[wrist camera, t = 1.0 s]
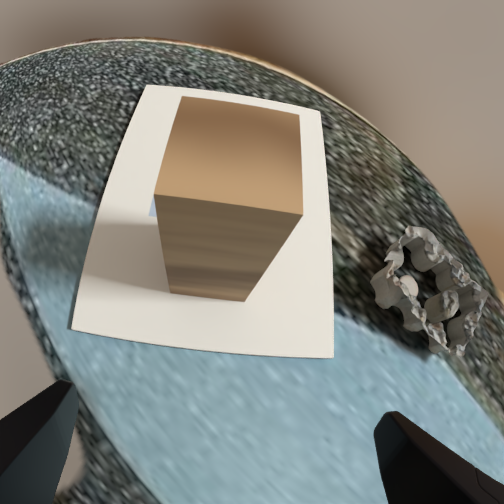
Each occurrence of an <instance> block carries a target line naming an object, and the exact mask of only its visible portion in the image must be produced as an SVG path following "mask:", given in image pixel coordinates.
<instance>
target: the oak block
mask: <svg viewBox="0 0 504 504" xmlns="http://www.w3.org/2000/svg"><path fill="white" fill-rule="evenodd" d="M154 201H155V208H156V215H157V222H158V228H159V234H160V240H161V246H162V252H163V258H164V263H165V269H166V274H167V280H168V285H169V290H170V293H172V294H180V295H188V296H196V297H204V298H213V299H221V300H230V301H239V302H245V301H246V299H247V298H248V296H249V295H250V293H251V292H252V290H253V289H254V287H255V286H256V284H257V283H258V282H259V280H260V279H261V277H262V276H263V274H264V273H265V271H266V270H267V268H268V267H269V265H270V264H271V262H272V261H273V259H274V258H275V257H276V255H277V254H278V252H279V251H280V249H281V248H282V246H283V245H284V243H285V242H286V240H287V239H288V237H289V236H290V234H291V233H292V231H293V230H294V228H295V227H296V225H297V224H298V222H299V221H300V219H301V218H302V216H303V182H302V156H301V135H300V117H299V115H298V114H293V113H289V112H284V111H279V110H274V109H269V108H263V107H258V106H252V105H246V104H240V103H234V102H227V101H220V100H213V99H205V98H196V97H187V96H182V97H181V100H180V103H179V106H178V109H177V113H176V116H175V119H174V122H173V125H172V129H171V132H170V135H169V139H168V142H167V145H166V149H165V152H164V156H163V160H162V163H161V167H160V171H159V174H158V178H157V182H156V186H155V190H154Z"/></svg>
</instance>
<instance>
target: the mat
mask: <svg viewBox="0 0 504 504" xmlns="http://www.w3.org/2000/svg"><path fill="white" fill-rule="evenodd" d="M182 96H187V97H196V98H205V99H213V100H220V101H227V102H234V103H240V104H246V105H252V106H258V107H263V108H269V109H274V110H279V111H284V112H289V113H293V114H298V115H299V117H300V135H301V156H302V182H303V216H302V218H301V219H300V221H299V222H298V224H297V225H296V227H295V228H294V230H293V231H292V233H291V234H290V236H289V237H288V239H287V240H286V242H285V243H284V245H283V246H282V248H281V249H280V251H279V252H278V254H277V255H276V257H275V258H274V259H273V261H272V262H271V264H270V265H269V267H268V268H267V270H266V271H265V273H264V274H263V276H262V277H261V279H260V280H259V282H258V283H257V284H256V286H255V287H254V289H253V290H252V292H251V293H250V295H249V296H248V298H247V299H246V301H245V302H239V301H230V300H221V299H213V298H204V297H196V296H188V295H180V294H172V293H170V290H169V285H168V280H167V274H166V269H165V263H164V258H163V252H162V246H161V240H160V234H159V228H158V222H157V215H156V208H155V201H154V190H155V186H156V182H157V178H158V174H159V171H160V167H161V163H162V160H163V156H164V152H165V149H166V145H167V142H168V139H169V135H170V132H171V129H172V125H173V122H174V119H175V116H176V113H177V109H178V106H179V103H180V100H181V97H182ZM71 329H72V330H75V331H80V332H85V333H90V334H95V335H100V336H105V337H111V338H116V339H122V340H128V341H134V342H141V343H147V344H154V345H161V346H168V347H176V348H184V349H192V350H201V351H210V352H221V353H231V354H243V355H257V356H273V357H293V358H324V359H331V358H334V304H333V266H332V243H331V225H330V210H329V196H328V183H327V172H326V161H325V151H324V142H323V133H322V124H321V116H320V111H316V110H312V109H308V108H304V107H299V106H295V105H290V104H286V103H281V102H276V101H271V100H266V99H260V98H255V97H249V96H243V95H237V94H230V93H223V92H216V91H208V90H200V89H191V88H181V87H170V86H157V85H146V87H145V90H144V92H143V94H142V96H141V98H140V101H139V103H138V105H137V107H136V110H135V112H134V114H133V117H132V119H131V121H130V124H129V126H128V129H127V131H126V134H125V136H124V139H123V141H122V144H121V146H120V149H119V152H118V154H117V157H116V160H115V162H114V165H113V168H112V171H111V174H110V177H109V179H108V182H107V185H106V188H105V191H104V195H103V198H102V201H101V204H100V207H99V211H98V214H97V217H96V221H95V224H94V228H93V231H92V235H91V239H90V243H89V246H88V250H87V254H86V258H85V263H84V267H83V271H82V276H81V280H80V285H79V289H78V294H77V299H76V305H75V310H74V316H73V322H72V328H71Z"/></svg>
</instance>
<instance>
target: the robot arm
mask: <svg viewBox="0 0 504 504" xmlns="http://www.w3.org/2000/svg"><path fill="white" fill-rule="evenodd" d="M78 408H79V402H78V397H77V392H76V387H75V384H74V383H73V382H70V381H67V380H63V379H60V380H58V381H57V382H55V383H54V384H52V385H51V386H49V387H48V388H46V389H45V390H43V391H42V392H40V393H39V394H38V395H36V396H35V397H33V398H32V399H30V400H29V401H27V402H26V403H24V404H23V405H21V406H20V407H18V408H17V409H15V410H14V411H12V412H11V413H10V414H8V415H7V416H5V417H4V418H2V419H1V420H0V504H52V502H53V499H54V496H55V492H56V489H57V486H58V483H59V480H60V477H61V473H62V470H63V467H64V465H65V462H66V459H67V455H68V451H69V447H70V443H71V438H72V434H73V430H74V425H75V421H76V417H77V413H78ZM374 440H375V446H376V451H377V457H378V463H379V469H380V474H381V478H382V482H383V485H384V489H385V493H386V496H387V500H388V504H504V485H503V484H501V483H500V482H498V481H496V480H494V479H493V478H491V477H490V476H488V475H486V474H485V473H483V472H482V471H480V470H479V469H478V468H475V467H474V466H473V465H472V464H470V463H469V462H467V461H466V460H465V459H463V458H462V457H460V456H459V455H457V454H456V453H455V452H453V451H452V450H450V449H449V448H448V447H446V446H445V445H443V444H442V443H441V442H439V441H438V440H436V439H435V438H434V437H432V436H431V435H430V434H428V433H427V432H425V431H424V430H423V429H421V428H420V427H419V426H417V425H416V424H414V423H413V422H412V421H410V420H409V419H408V418H406V417H405V416H404V415H402V414H401V413H400V412H398V411H391V412H386V413H385V414H384V415H383V416H382V418H381V420H380V421H379V423H378V424H377V426H376V427H375V429H374Z"/></svg>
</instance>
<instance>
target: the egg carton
mask: <svg viewBox="0 0 504 504" xmlns="http://www.w3.org/2000/svg"><path fill="white" fill-rule="evenodd" d="M403 246H406V247H407V248H408V249H409V250H410V251H411V261H412V264H413V265H414V267H415V268H416V269H417V270H418V271H421V272H425V271H427V270H429V269H431V270H432V271H433V272H434V273H435V274H436V285H437V287H438V289H439V290H440V291H441V293H439V294H437V295H435V296H433V297H431V298H429V299H427V301H426V302H425V305H424V309H423V308H421V306H420V303H419V302H418V300H417V299H416V296H417V294H418V286H417V283H416V282H415V280H414V279H413V277H411V276H408V275H405V276H402V277H401V278H400V279H398V278H397V277H395V276H396V275H395V276H394V273H393V271H395V270H396V269H398V268H399V267H400V266H402V264H403V261H404V254H403V251H402V247H403ZM386 255H387V257H386V259H385V260H384V261H385V262H388V265H387V266H386V267H385V268H383V269H382V270H380V271H379V272H377V273H376V274H375V275H374V276H373V278H372V279H371V281H370V283H371V285H372V286H373V288H374V290H375V294H376V298H375V302H376V303H377V304H378V305H379V306H380V307H381V308H383V309H385V308H387V309H388V308H389V307H390V306H392V305H394V306H396V307H398V308H399V309H400V310H401V311H402V313H403V316H404V325H403V327H405V328H406V329H408V330H410V331H411V332H413V331H420V330H422V329H423V330H425V331H426V333H427V334H428V337H429V349H430V350H431V351H432V352H433V353H435V354H437V353H438V352H440V351H449V354H450V355H456V354H457V355H459V356H460V357H463V356H464V355H465V351H464V349H465V347H466V345H467V343H468V342H469V341H470V340H471V339H472V337H473V331H474V329H475V327H476V326H477V323H478V320H479V318H480V316H481V314H482V313H481V308H482V307H483V305H484V303H485V301H486V299H487V296H488V292H487V291H486V290H484V289H483V288H482V287H480V286H479V285H478V284H477V283H476V282H475V281H472V280H471V279H470V277H469V274H468V273H465V272H464V271H463V265H462V264H461V263H459V262H458V261H456V260H455V259H454V258H453V257H452V256H451V254H450V253H449V252H448V251H446V250H445V249H444V248H443V247H442V246H441V245H440V243H439V242H438V240H437V239H436V237H435V236H434V235H433V233H431V232H430V231H429V230H428V229H425V228H420V227H413V226H408V227H407V228H406V234H404V235H403V236H402V237H401V238H400V239H399V240H397V241H396V242H395V243H394V244H392V245H391V246H390V247H389V249H388V251H387V252H386ZM458 308H459V309H460V311H461V315H460V316H459V317H457V318H454V319H452V320H450V321H449V323H448V325H447V334H448V337H449V339H450V340H451V344H450V346H449V347H446V344H447V341H446V339H445V336H446V333H445V332H444V330H443V323H441V322H440V321H443V320H446V319H448V318H451V317H453V316H454V314H455V313H456V311H457V310H458ZM426 317H427V319H428V320H429V321H430V322H432V323H430V324H428V325H425V321H426ZM437 322H438V323H437Z"/></svg>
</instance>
